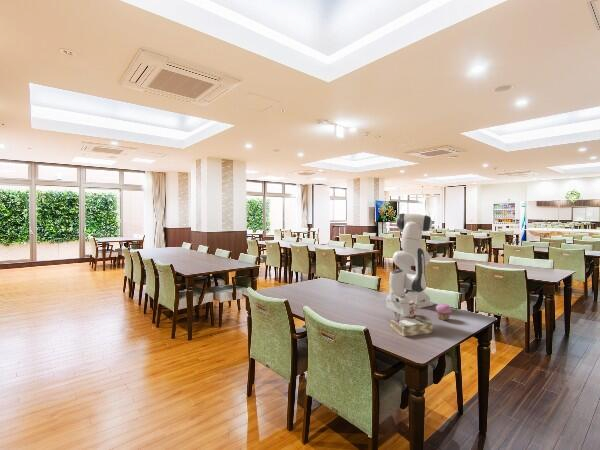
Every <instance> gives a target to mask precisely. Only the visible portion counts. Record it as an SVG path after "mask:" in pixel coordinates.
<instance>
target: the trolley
mask: <svg viewBox="0 0 600 450" xmlns="http://www.w3.org/2000/svg"><path fill="white" fill-rule="evenodd" d="M420 323H421V322H419V321H417V320H415V318H412V319H411V318H409V319H400V320H398V324H400V325H402V326H405V325H413V324H420Z"/></svg>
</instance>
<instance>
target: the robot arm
mask: <svg viewBox="0 0 600 450" xmlns="http://www.w3.org/2000/svg"><path fill="white" fill-rule="evenodd" d="M395 224H396V227H397V228H398V229H399V230H401V231H402V233H401V240H400V247H401V250H398V251H395V252H394V253H393V255H392V261H393V263H394V264H395V266H397V267H398V268H396V269H395V268H394V269H392V270H390V272H389V278H388V279H389V280H388V283H389V290H388V291H389V292H388V293H387V295H386V298H385V306H386V308H387V309H389V310H391V311H393V316H394V319H396V320H397V321H400V320H401V319H400V318H401V317H403V316H409V313H410V306H409V302H410V300H412V301H414V303H415V304H417V306H418V307H417V309H420V308H425V307H426V308H427V307H430V306H434V302H432V301H431V298H430V295H429V294H428V293H426V292H425V291H424V290H425V289H426V288H427V279H426V266H427V265H428V264H430V261H431V255H430V254H429V252H428V251H426V249H424V248H423V246H422V239H423V238H422V237H423V232H429V231H430V229H432V226H433V220H432V218H431V217H430V215H426V214H425V215H423V214H419V213H399V214H398V215H397V217H396V219H395ZM412 267H415V270H413V269H412ZM414 308H416V305H414ZM401 315H402V316H401Z"/></svg>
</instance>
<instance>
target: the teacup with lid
mask: <svg viewBox="0 0 600 450" xmlns="http://www.w3.org/2000/svg"><path fill="white" fill-rule="evenodd" d="M414 305H416V307H414ZM409 306H410V313H409V316H402V315H400V317H403V318H412V317H414V316H415V312H416V311H417V310H418V308H417V307H418V306H417V304H415V303H414V301H412V300H410V302H409Z"/></svg>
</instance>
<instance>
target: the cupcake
mask: <svg viewBox="0 0 600 450" xmlns="http://www.w3.org/2000/svg"><path fill="white" fill-rule="evenodd" d="M435 310H436V312H437V316H438V319H439V320H442V321H446V320H447V321H448V320H449V319H450V316H451V313H452V312H453V311H452V310H453V309H452V307H451V306H450V305H449V304H448V303H446V302H441V303H438V304H437V305H436V306H435Z"/></svg>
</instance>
